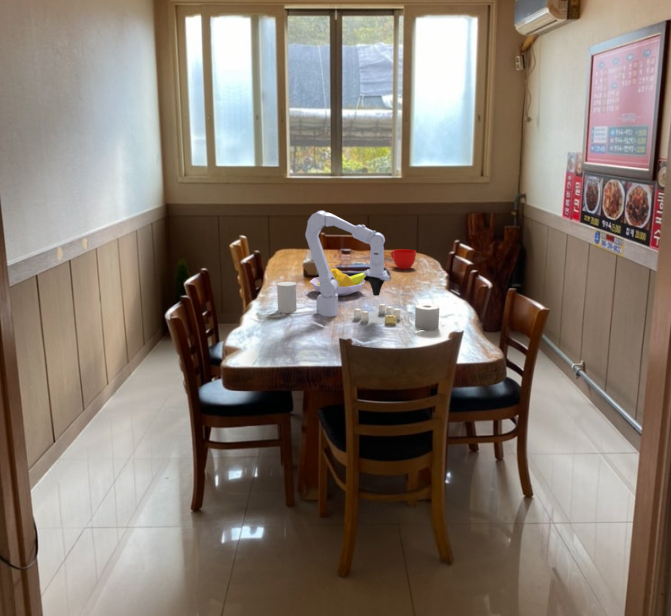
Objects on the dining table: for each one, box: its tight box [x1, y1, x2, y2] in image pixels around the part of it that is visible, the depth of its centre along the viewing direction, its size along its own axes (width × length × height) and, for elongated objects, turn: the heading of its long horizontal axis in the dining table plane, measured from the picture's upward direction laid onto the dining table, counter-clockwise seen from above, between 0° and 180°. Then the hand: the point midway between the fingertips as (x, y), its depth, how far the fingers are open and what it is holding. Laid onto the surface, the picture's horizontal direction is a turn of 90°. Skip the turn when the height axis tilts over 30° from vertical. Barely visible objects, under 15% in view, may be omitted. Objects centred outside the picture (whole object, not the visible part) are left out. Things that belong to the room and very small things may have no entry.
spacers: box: [353, 303, 401, 324], centre depth 265 cm, size 12×16×4 cm
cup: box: [276, 281, 298, 314], centre depth 280 cm, size 8×8×12 cm
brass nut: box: [384, 315, 397, 326], centre depth 259 cm, size 5×5×3 cm
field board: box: [350, 312, 402, 327], centre depth 266 cm, size 13×17×1 cm
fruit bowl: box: [309, 267, 370, 297], centre depth 312 cm, size 28×27×11 cm
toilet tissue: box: [414, 303, 440, 332], centre depth 258 cm, size 9×13×9 cm
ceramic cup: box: [390, 248, 417, 270], centre depth 372 cm, size 13×17×10 cm
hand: (376, 295), depth 267 cm, fingers closed
